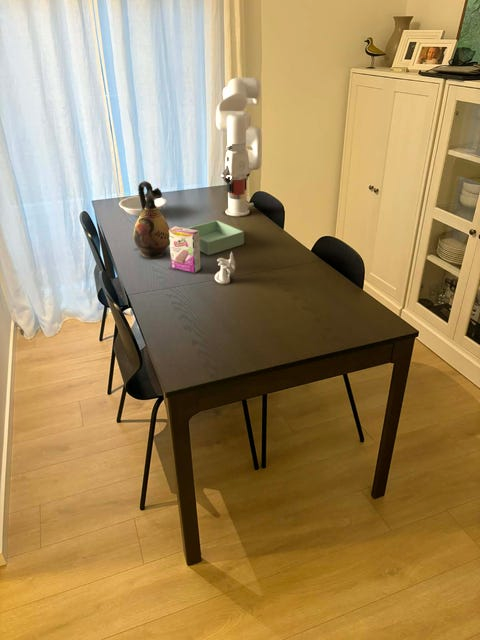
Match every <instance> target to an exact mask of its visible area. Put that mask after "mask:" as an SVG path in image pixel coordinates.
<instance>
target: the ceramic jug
mask: <svg viewBox="0 0 480 640" xmlns="http://www.w3.org/2000/svg"><path fill="white" fill-rule="evenodd" d="M137 187H138V189H137V190H138V196H139V197H140V202H141V206H142V211H141V214H140V216H139V217H137V220H136V222H135V225H134V228H133V236H132V237H133V242H134V244H135V246H136V248H137V250H139V251H140V253H141V255H142V257H144V258H146V259H158V258H161V257H163V256H164V254H165V252H166V250H167V249H168V247H170V242H169V229H170V227H169V224H168V222H167V220H166V218H165V217H164V215H163V214H162V212H161V211H159V210H158V209H157V207H156V206H155V202H154V200H156V199H159V198H161V197H162V198H163V192H162V191H161V189H160V188H159V187H155V188H154V189H153V186H152V184H151V182H148V181H146V180H143V181H141V182H140V183H139V185H138V186H137ZM145 190H146V192H145ZM145 197H146V199H145Z"/></svg>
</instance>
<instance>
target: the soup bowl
mask: <svg viewBox="0 0 480 640" xmlns="http://www.w3.org/2000/svg"><path fill="white" fill-rule="evenodd" d="M145 199H146V197H145ZM154 202H155V206H156V207H157V209H158V210H159V211H160V212H161V211H162V210H163V208H164V206H166V205H167V204H168V200H167V199H166V198H164V197H163V196H162V197H161V198H159V199H156V200H154ZM118 206H119V207H120V208H122V210H124V211H125V212H126V213H127V214H128V215H131V216H133V217H137V218H139V216H140V214H141V211H142V206H141V202H140V197H139V195H133V196H129V197H126V198H124V199H121V200H120V201H119V203H118Z"/></svg>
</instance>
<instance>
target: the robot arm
mask: <svg viewBox="0 0 480 640" xmlns="http://www.w3.org/2000/svg"><path fill="white" fill-rule="evenodd" d="M261 95H262V85H261V81H260V79H258V78H256V77H233V78H232V79H230V80H229V81H228V83H227V86H224V88H223V89H222V100H221V101H220V102H219V103H218V105H217V106H216V111H215V126H216V128H217V130H219V131H221V132H222V131H224V132H227V133H226V134H227V138H226V139H227V140H226V141H227V145H226V146H225V150H227V151H226V152H225V159H224V160H225V161H224V170H223V171H222V173H221V174H220V177H221V178H222V180H223V181H224V182H225V183H226V192H227V207H228V208H226V209H225V211H224V212H225V214H226V215H227V216H230V217H244V216H247V215H249V214H250V211H251V210H250V209H249V208H252V207H254V206H255V204H254V202H248V197H247V196H248V179H249V177H250V175H251V173H252V171H257V170H259V169H261V167H262V162H263V159H262V158H263V157H262V156H263V153H262V152H263V135H262V129H261V127H259V126H258V125H252V117H251V115H250V113H249V112H248V111H245V108H246V107H247V106H258V105H259V104H260V102H261ZM247 147H251V148H252V149H247ZM242 174H245V197H244V198H243V199H231V198H229V193H231V194H232V193H233V184H232V181H233V178H236V177H238V175H242ZM230 177H231V178H230ZM229 179H230V180H229Z"/></svg>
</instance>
